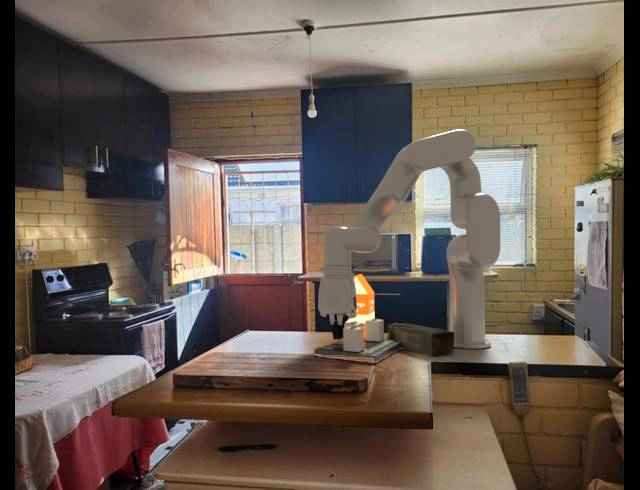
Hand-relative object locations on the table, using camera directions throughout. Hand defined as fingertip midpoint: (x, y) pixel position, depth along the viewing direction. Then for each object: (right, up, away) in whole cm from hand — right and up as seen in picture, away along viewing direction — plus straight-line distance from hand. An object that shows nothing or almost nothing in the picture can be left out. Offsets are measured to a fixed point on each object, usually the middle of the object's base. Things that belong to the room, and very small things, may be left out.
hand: (338, 338), depth 127 cm
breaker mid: (+4, -1, -2) cm, 5 cm away
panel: (+6, -3, -3) cm, 7 cm away
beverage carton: (+22, -4, +1) cm, 23 cm away
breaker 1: (+3, -1, -10) cm, 11 cm away
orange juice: (+7, -4, +13) cm, 15 cm away
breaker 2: (+10, -1, +2) cm, 11 cm away
